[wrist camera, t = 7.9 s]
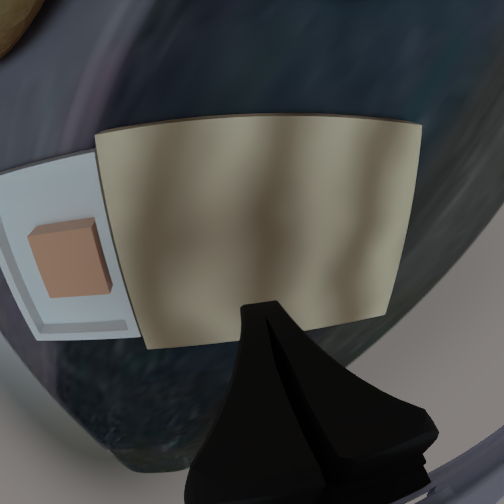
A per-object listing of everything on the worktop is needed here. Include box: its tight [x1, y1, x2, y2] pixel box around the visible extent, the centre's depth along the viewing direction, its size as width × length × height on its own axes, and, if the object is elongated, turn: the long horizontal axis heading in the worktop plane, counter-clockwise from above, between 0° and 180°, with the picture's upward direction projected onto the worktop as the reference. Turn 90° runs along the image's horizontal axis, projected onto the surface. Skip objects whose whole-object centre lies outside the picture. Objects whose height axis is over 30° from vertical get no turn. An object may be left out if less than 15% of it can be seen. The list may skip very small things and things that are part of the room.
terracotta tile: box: [27, 217, 113, 298], centre depth 18 cm, size 5×5×2 cm
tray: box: [0, 148, 142, 341], centre depth 19 cm, size 10×14×2 cm
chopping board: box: [95, 113, 422, 349], centre depth 20 cm, size 20×16×2 cm
